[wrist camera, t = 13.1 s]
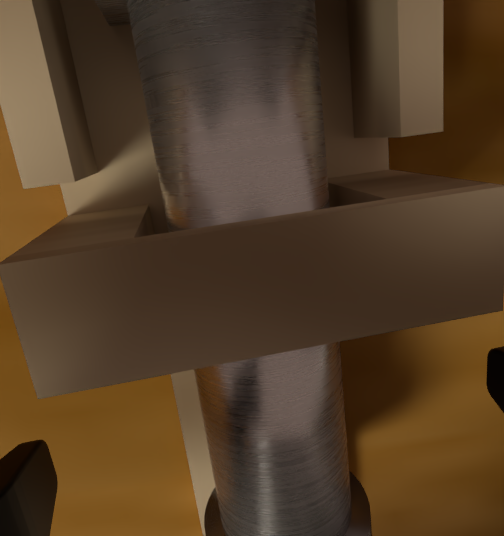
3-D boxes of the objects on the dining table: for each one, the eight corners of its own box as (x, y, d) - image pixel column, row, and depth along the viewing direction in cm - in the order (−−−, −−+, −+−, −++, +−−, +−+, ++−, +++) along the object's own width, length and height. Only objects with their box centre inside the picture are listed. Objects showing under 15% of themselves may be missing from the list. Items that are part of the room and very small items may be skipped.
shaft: (339, 473, 13) (403, 605, 9) (207, 502, 12) (219, 654, 9) (301, 9, 9) (380, -74, 6) (115, 28, 9) (72, -50, 5)
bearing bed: (386, 504, 14) (489, 684, 10) (161, 557, 14) (153, 783, 9) (349, -328, 8) (565, -918, 4) (-51, -326, 8) (-421, -1081, 3)
